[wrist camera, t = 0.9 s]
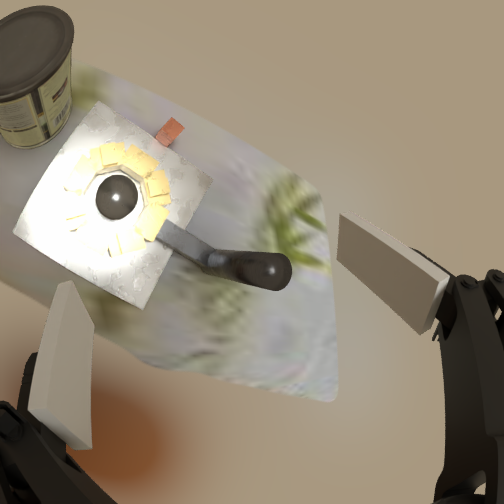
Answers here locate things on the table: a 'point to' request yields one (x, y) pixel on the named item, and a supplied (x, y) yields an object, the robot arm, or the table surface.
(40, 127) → the coffee can
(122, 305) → the table surface
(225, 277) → the tan ring with handle
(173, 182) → the flange plate
